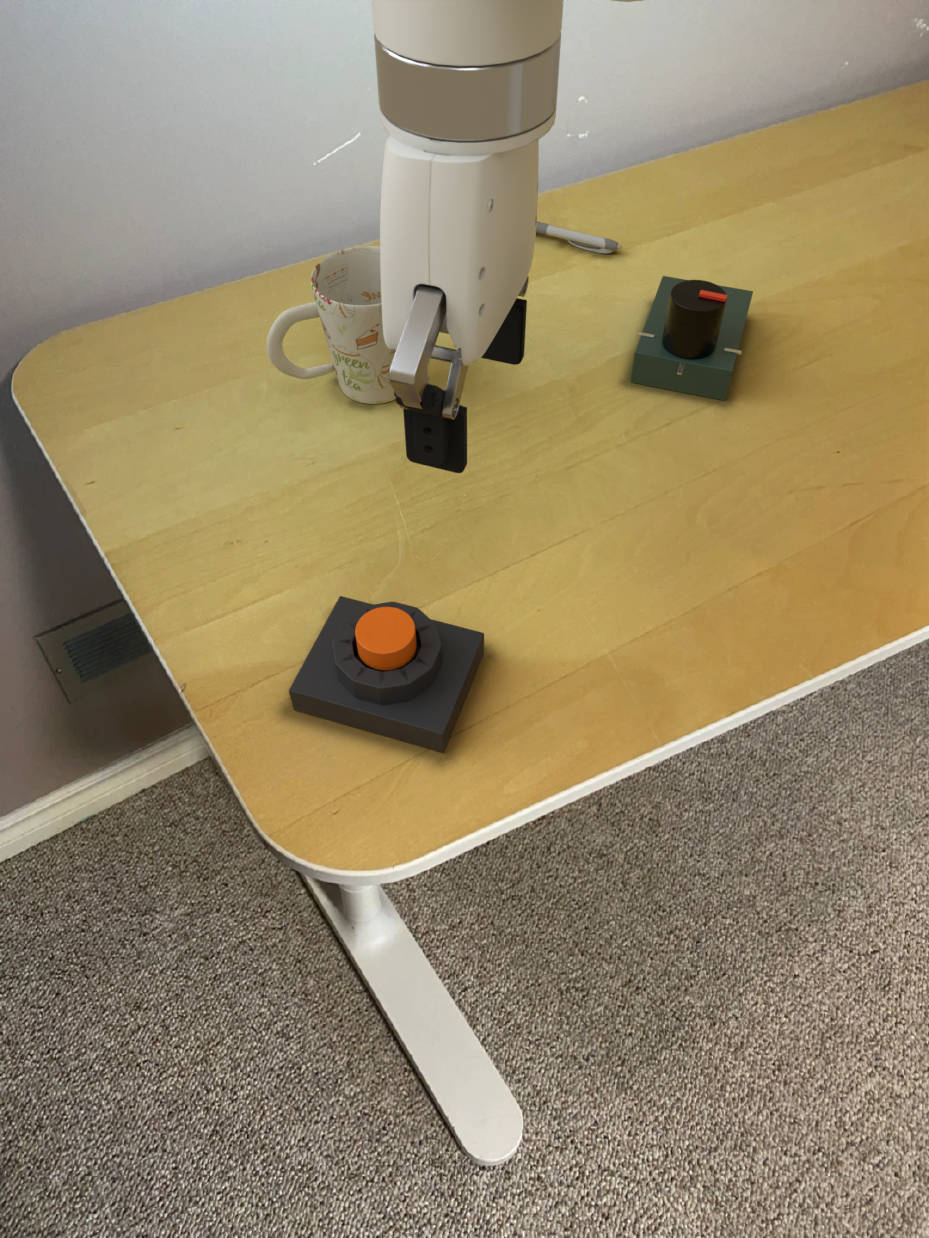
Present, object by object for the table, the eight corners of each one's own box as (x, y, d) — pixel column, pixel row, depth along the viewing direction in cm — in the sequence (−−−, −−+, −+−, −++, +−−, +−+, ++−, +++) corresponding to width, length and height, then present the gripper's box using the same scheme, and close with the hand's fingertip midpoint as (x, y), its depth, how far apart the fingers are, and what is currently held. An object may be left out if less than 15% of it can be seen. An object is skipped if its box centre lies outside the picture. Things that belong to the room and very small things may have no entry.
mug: (439, 399, 79) (435, 291, 72) (291, 437, 77) (271, 329, 69) (405, 344, 84) (398, 237, 77) (265, 377, 81) (244, 270, 74)
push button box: (484, 653, 63) (484, 614, 60) (444, 753, 58) (442, 717, 55) (343, 616, 65) (336, 577, 62) (293, 710, 60) (283, 673, 57)
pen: (618, 258, 93) (620, 245, 92) (487, 227, 97) (487, 213, 96) (622, 253, 93) (623, 239, 92) (491, 222, 97) (491, 208, 96)
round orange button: (424, 632, 59) (423, 614, 58) (404, 677, 57) (402, 659, 56) (370, 618, 60) (368, 600, 59) (348, 662, 58) (345, 644, 57)
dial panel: (654, 304, 88) (659, 273, 86) (749, 321, 86) (757, 289, 84) (621, 394, 80) (626, 362, 77) (725, 415, 78) (733, 383, 76)
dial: (656, 353, 78) (665, 300, 75) (668, 323, 81) (678, 271, 77) (709, 364, 77) (721, 312, 74) (720, 334, 80) (733, 282, 76)
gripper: (454, -4, 46) (458, 311, 59) (294, 158, 36) (341, 495, 49) (607, 15, 44) (575, 335, 57) (485, 191, 34) (481, 530, 47)
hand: (468, 408), depth 53 cm, fingers open, 9 cm apart
